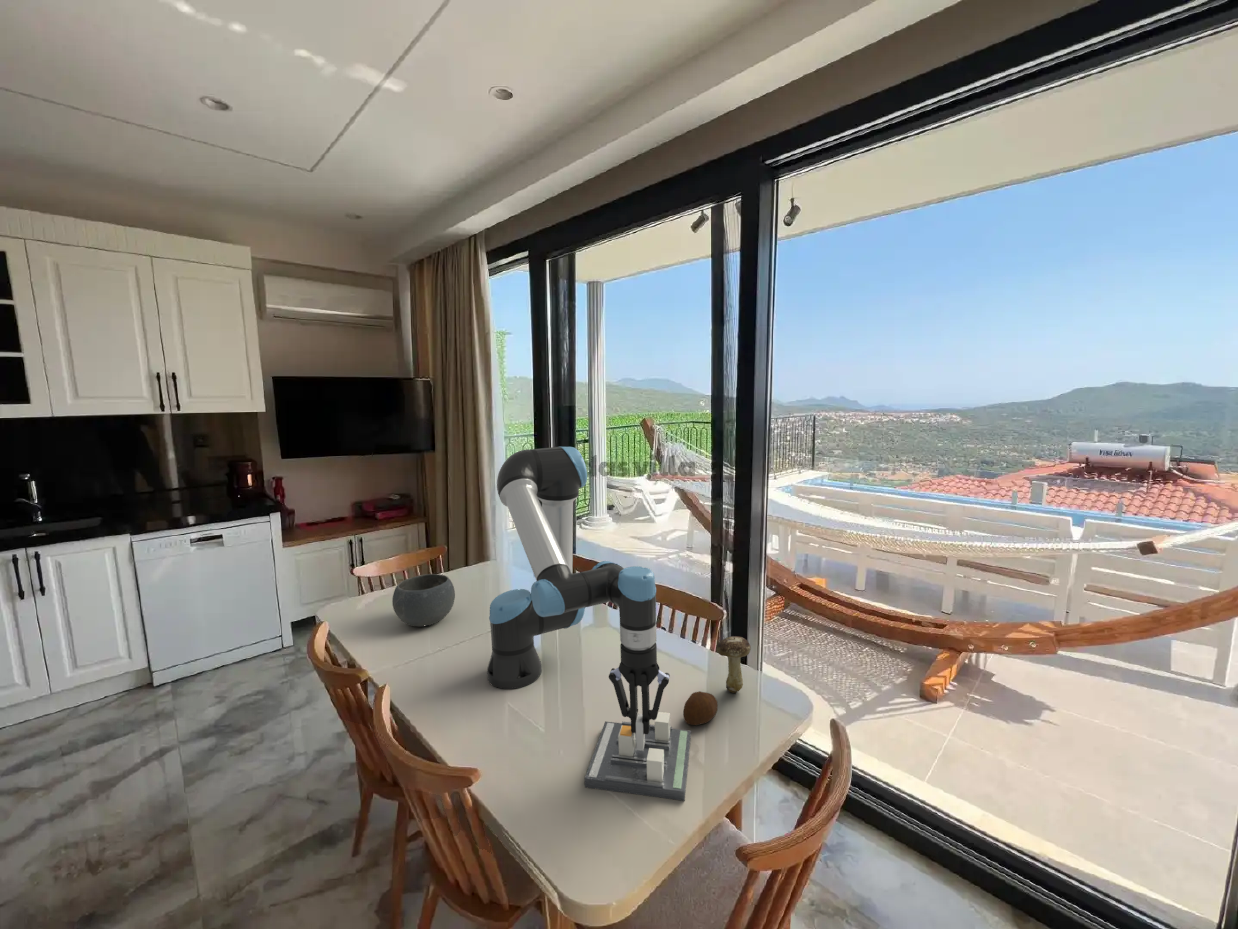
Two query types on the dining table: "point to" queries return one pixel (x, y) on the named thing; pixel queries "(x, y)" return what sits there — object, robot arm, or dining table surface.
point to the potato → (700, 708)
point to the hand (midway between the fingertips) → (640, 746)
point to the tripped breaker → (626, 741)
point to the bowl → (423, 599)
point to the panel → (639, 764)
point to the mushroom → (734, 660)
